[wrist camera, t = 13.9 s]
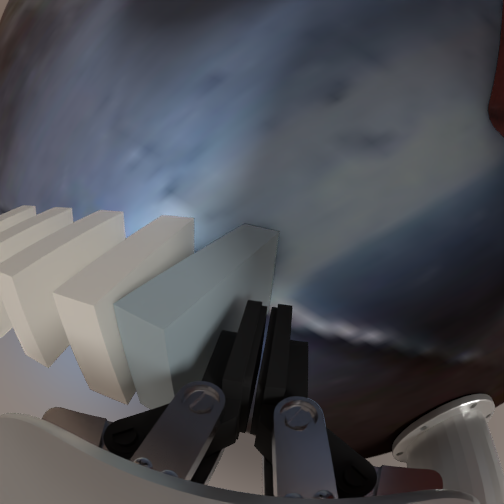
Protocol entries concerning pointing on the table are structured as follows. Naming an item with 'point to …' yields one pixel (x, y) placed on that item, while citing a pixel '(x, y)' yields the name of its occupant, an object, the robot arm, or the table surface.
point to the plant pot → (498, 88)
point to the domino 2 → (29, 242)
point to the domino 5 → (193, 310)
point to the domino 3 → (52, 279)
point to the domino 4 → (110, 291)
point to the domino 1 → (16, 216)
